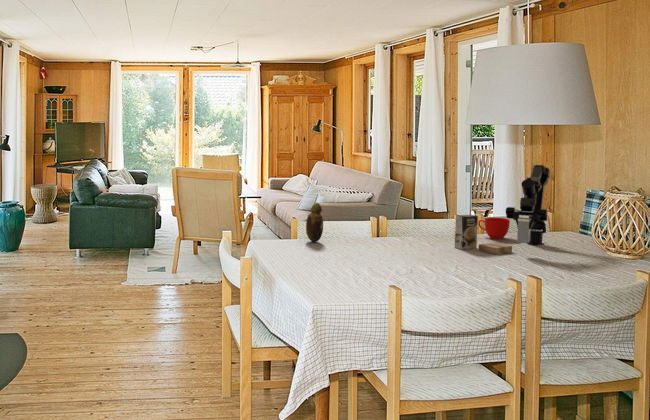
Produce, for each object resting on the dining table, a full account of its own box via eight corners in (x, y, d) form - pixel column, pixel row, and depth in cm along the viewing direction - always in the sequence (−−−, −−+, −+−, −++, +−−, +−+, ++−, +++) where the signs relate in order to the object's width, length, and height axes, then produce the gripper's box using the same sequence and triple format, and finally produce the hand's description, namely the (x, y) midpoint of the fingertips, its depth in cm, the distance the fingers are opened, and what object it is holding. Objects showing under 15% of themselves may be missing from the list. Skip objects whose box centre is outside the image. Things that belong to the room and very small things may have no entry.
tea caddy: (518, 240, 352) (520, 217, 350) (530, 241, 350) (531, 218, 348) (516, 242, 347) (517, 218, 346) (528, 243, 345) (529, 219, 344)
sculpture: (323, 244, 375) (324, 204, 372) (307, 244, 374) (307, 204, 371) (321, 239, 388) (321, 201, 385) (305, 239, 387) (305, 201, 384)
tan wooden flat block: (495, 248, 367) (495, 242, 366) (511, 252, 357) (512, 246, 357) (478, 250, 361) (478, 244, 360) (495, 254, 352) (495, 248, 351)
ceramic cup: (483, 234, 408) (483, 216, 406) (512, 237, 398) (513, 219, 397) (472, 237, 397) (473, 219, 396) (503, 241, 388) (503, 222, 386)
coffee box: (462, 249, 363) (463, 216, 361) (454, 247, 368) (455, 215, 366) (477, 248, 367) (478, 215, 365) (468, 246, 373) (470, 214, 370)
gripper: (507, 190, 353) (501, 216, 344) (548, 192, 345) (543, 219, 337) (509, 204, 361) (504, 230, 353) (549, 207, 353) (544, 233, 345)
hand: (523, 228), depth 346 cm, fingers closed on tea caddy, 5 cm apart
